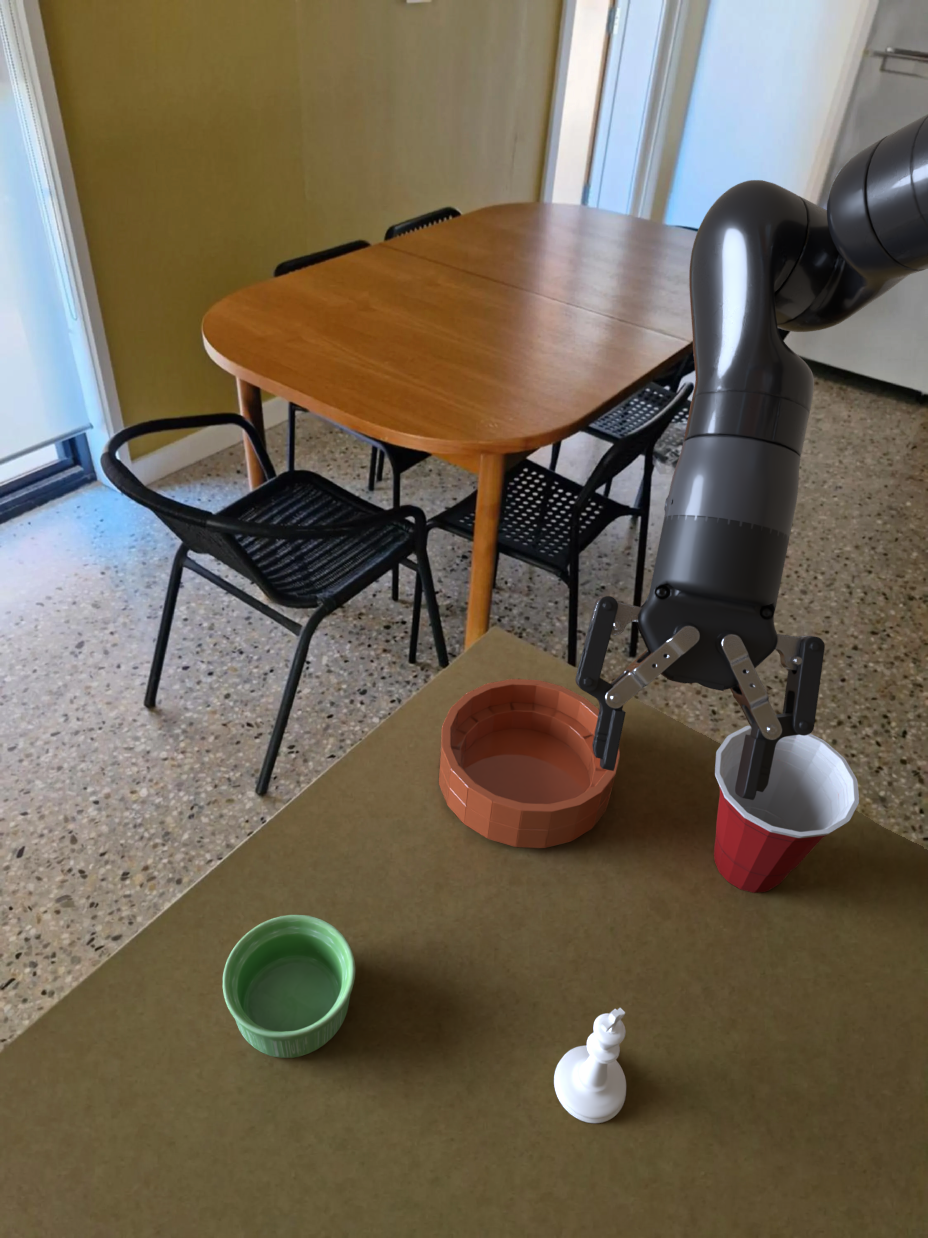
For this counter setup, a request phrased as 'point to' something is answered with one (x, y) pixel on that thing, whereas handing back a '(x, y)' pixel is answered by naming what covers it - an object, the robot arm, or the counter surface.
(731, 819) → the plastic cup
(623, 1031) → the chess piece
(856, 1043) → the counter surface
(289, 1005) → the ramekin
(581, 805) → the bowl
